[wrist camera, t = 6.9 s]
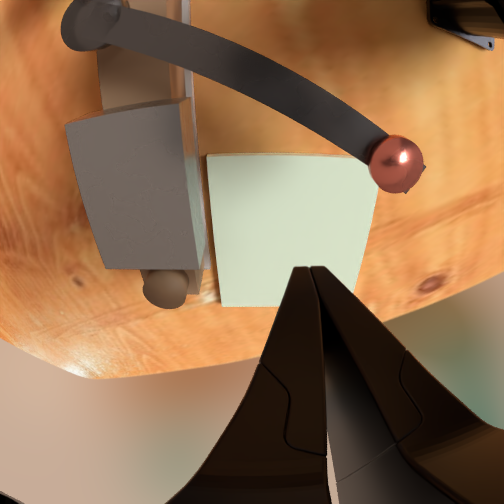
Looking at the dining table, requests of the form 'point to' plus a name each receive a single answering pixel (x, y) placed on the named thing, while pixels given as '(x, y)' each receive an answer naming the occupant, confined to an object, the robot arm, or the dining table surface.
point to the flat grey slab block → (140, 184)
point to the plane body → (144, 90)
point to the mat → (286, 220)
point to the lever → (246, 82)
